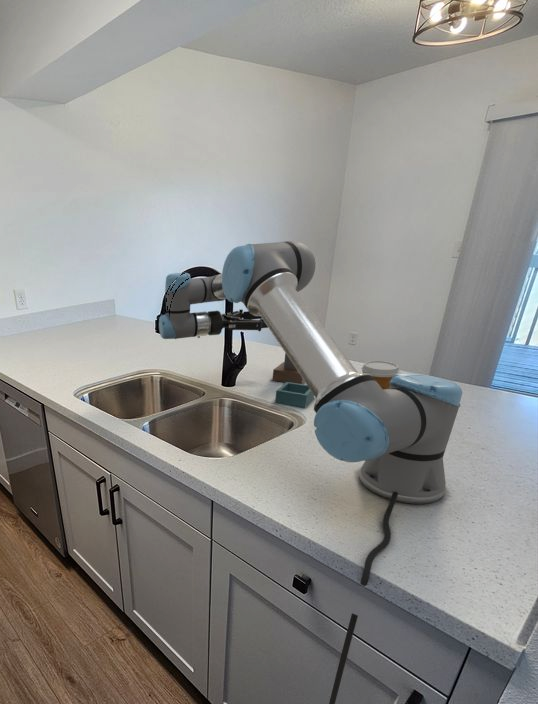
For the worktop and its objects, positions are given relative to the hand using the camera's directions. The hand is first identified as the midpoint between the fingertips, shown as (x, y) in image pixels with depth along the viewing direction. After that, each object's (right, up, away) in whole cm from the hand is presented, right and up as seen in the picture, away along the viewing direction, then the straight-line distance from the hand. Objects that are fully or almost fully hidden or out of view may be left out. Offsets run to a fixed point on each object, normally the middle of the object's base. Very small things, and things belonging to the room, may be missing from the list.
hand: (270, 317), depth 141 cm
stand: (+11, -18, +11) cm, 24 cm away
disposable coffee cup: (+26, -29, -13) cm, 41 cm away
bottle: (+11, -15, +9) cm, 20 cm away
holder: (+5, -28, -7) cm, 29 cm away
